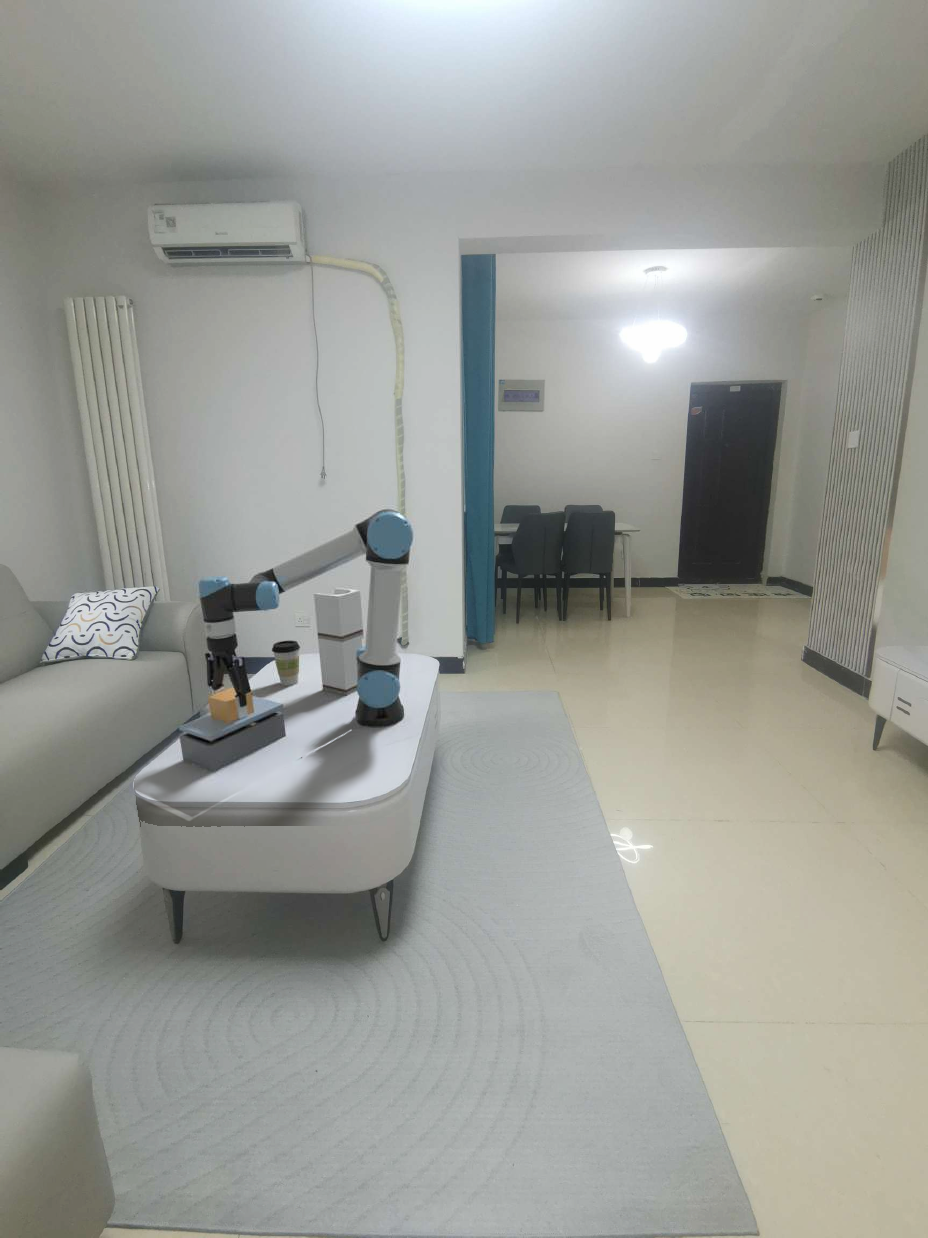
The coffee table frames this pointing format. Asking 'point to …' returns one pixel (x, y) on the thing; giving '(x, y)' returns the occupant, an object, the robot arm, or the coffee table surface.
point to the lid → (228, 715)
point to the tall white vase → (339, 638)
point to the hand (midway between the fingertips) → (232, 713)
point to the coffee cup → (287, 661)
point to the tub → (232, 743)
